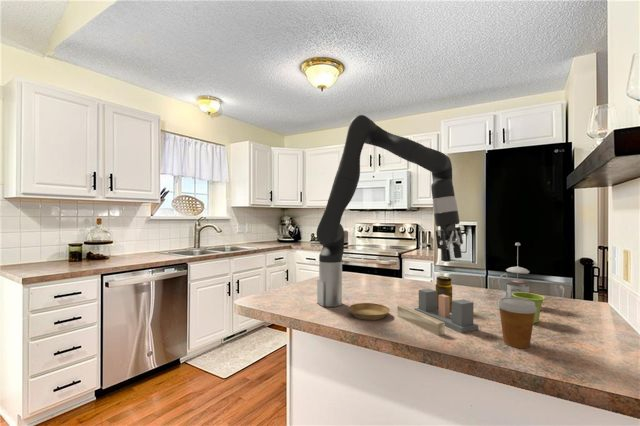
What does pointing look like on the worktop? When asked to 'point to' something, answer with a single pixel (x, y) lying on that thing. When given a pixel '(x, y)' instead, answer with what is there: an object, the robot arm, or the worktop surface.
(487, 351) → the worktop surface
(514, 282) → the french press
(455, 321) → the display stand
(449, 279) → the condiment
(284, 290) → the worktop surface
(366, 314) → the plant saucer
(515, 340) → the disposable coffee cup
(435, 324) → the ash bar
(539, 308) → the plant pot
